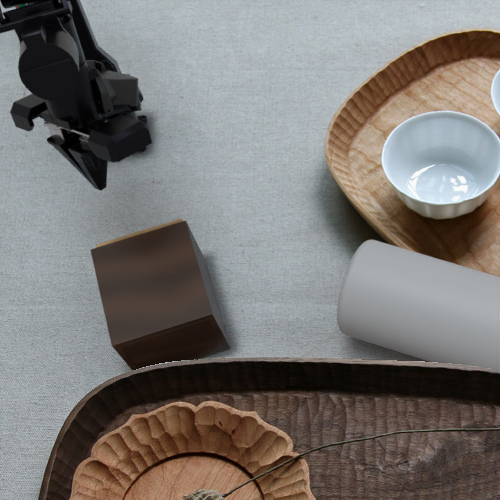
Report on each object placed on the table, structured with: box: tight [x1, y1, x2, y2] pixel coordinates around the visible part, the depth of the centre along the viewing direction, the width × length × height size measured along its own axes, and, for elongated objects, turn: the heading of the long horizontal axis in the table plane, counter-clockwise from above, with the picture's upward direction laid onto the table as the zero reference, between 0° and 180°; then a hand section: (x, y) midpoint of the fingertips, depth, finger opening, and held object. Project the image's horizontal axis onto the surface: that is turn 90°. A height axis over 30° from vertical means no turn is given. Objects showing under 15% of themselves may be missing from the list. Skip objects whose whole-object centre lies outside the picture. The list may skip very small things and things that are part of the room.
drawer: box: [95, 218, 183, 248], centre depth 106 cm, size 15×11×8 cm
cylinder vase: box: [336, 239, 500, 373], centre depth 101 cm, size 12×12×25 cm
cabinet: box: [90, 220, 232, 371], centre depth 105 cm, size 15×13×10 cm
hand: (101, 188), depth 102 cm, fingers closed
